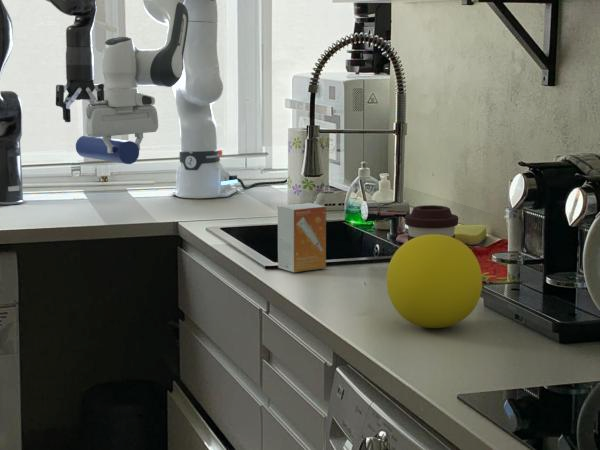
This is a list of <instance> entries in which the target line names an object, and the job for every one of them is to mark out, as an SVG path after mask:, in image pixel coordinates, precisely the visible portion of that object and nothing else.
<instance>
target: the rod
mask: <svg viewBox="0 0 600 450" xmlns="http://www.w3.org/2000/svg"><path fill="white" fill-rule="evenodd" d="M109 141H110V142H111V144H112V146H115V150H116V152H115V153H108V152H107V146H106V144H105V143H104V141H103V137H89V136H88V134H87V135H81V136H80V137H78V139H77V140H76V143H75V151H76V152H77V154H78V155H79V156H80V157H82V158H87V159H92V160H93V159H94V160H101V161H105V162H111V163H117V164H124V165H133V164H135V162H137V160H138V159H139V157H140V150H139V148H138V146H137V145H136V144H135V141H131V140H124V139H119V138H118V139H117V138H111V140H109Z"/></svg>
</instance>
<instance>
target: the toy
mask: <svg viewBox="0 0 600 450" xmlns="http://www.w3.org/2000/svg"><path fill="white" fill-rule="evenodd" d="M482 275H483V274H482V269H481V265H480V262H479V260H478V258H477V256H476V255H475V253H474V252H473V251H472V249H470V248H469V246H468V245H466V244H465V243H464V242H463V241H461V240H460V239H457V238H456V237H455V238H452V237H449V236H445V235H438V234H430V235H423V236H419V237H416V238H413V239H411V240H409V241H408V240H407V241H406V242H404V243H403V244H402V245H400V246H399V247H398V248H397V249H396V251H395V252H394V253H393V255H392V257H391V259H390V262H389V264H388V268H387V272H386V289H387V295H388V297H389V299H390V302H391V305H392V306H393V308H394V309H395V311H396V312H397V313H398V314H399V315H400V316H401V317H402V318H403V319H404V320H406V321H407V322H409V323H411V324H413V325H415V326H419V327H423V328H427V329H443V328H449V327H451V326H454V325H456V324H458V323H460V322H462V321H463V320H465V319H466V318H467V317H469V316H470V315H471V314H472V312H473V311H474V310H475V308H476V307H477V305H478V303H479V300H480V299H481V294H482V290H483V276H482Z"/></svg>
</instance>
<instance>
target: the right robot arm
mask: <svg viewBox="0 0 600 450" xmlns="http://www.w3.org/2000/svg"><path fill="white" fill-rule="evenodd" d="M142 4H143V8H144V10H145V12H146V13H147V15H148V16H149V17H150V18H151V19H153V20H154V21H155V22H157V23H159V24H162V25H164V26H167V27H168V28H167V32H166V38H165V44H164V45H163V46H161V47H160V48H157V49H140V48H138V47H137V46H135V44H134V41H133V38H131V37H129V36H118V37H111V38H108V39H107V40H105V41H104V42H103V46H102V53H101V54H102V55H101V65H102V66H101V67H102V74H103V77H104V83H103V84H104V101H98V102H96V101H93V102H91V103H90V102H89V103H88V105H87V106H86V108H85V112H86V113H85V114H86V125H85V128H86V130H85V131H86V134H87V136H89V137H102V138H103V141H104V143H105V144H106V146H107V152H108V153H115V152H116V150H115V146H112V144H111V142H110V141H109V140H111V139H112V137H114V136H126V135H134V138H135V140H134V143H135V144H136V145H137V146H138V148H139V151H140V150H141V144H142V141H143V139H144V134H149V133H156V132H157V131H158V129H159V118H158V111H157V108H156V107H155V106H154V105H155V104H156V99H155V97H154V96H153V95H149V94H144V93H141V92H138V91H139V90H138V86H143V87H144V86H145V87H146V86H151V87H152V86H157V87H165V88H171V87H172V90H173V93H174V94H173V95H174V98H175V104H176V110H177V115H178V116H177V117H178V121H179V134H180V135H179V137H180V150H179V154H178V158H179V162H180V164H179V166H178V167H177V168H176V172H175V174H176V175H175V190H173V191H172V192H171V193H172V194H171V195H173V196H176V197H178V198H185V199H212V198H213V199H214V198H227V197H228V198H229V197H230V196H231V195H233V194H235V193H236V192H237V191H238V187H236V186H231V185H233V184H238V183H239V184H240V186H241V188H242V189H243V190H248V189H251V188H253V187H256V186H265V185H282V184H286V183H288V182H287V178H286V179H285V180H277V181H259V182H254V183H251V184H250V185H248V186H246V185H245V184H244V181H243V180H242V179H241V178H239V177H238V175H237V174H231V173H229V171H228V170H227V169H226V168H225V166H223V164H221V162H220V161H221V158H220V157H223V150H222V149H218V146H217V145H218V141H217V138H218V137H217V123H216V120H215V118H214V113H213V109H212V105H213V104H215V103H216V102H217V101H219V99H220V98H221V97H222V94H223V92H224V83H223V81H222V78H221V72H220V63H219V57H218V20H219V19H218V3H217V0H142ZM96 105H98V106H96Z"/></svg>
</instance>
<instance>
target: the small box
mask: <svg viewBox="0 0 600 450" xmlns="http://www.w3.org/2000/svg"><path fill="white" fill-rule="evenodd" d="M277 268H278V269H280V270H283V271H287V272H290V273H299V272H304V271H305V272H306V271H315V270H321V269H322V270H324V269H326V268H327V206H326V205H322V204H317V203H313V202H303V203H294V204H287V205H286V204H285V205H278V206H277Z"/></svg>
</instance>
